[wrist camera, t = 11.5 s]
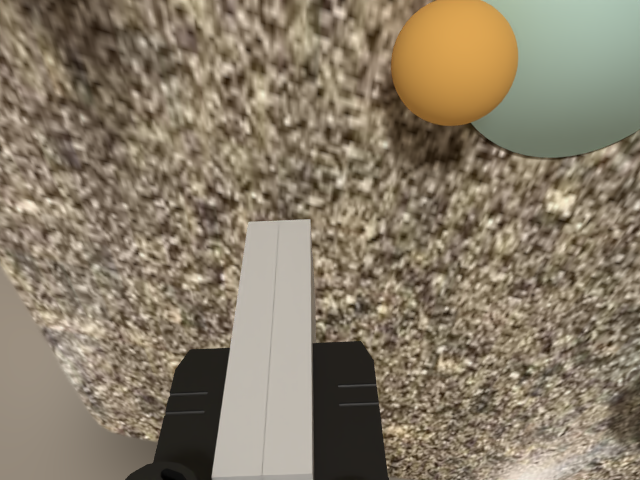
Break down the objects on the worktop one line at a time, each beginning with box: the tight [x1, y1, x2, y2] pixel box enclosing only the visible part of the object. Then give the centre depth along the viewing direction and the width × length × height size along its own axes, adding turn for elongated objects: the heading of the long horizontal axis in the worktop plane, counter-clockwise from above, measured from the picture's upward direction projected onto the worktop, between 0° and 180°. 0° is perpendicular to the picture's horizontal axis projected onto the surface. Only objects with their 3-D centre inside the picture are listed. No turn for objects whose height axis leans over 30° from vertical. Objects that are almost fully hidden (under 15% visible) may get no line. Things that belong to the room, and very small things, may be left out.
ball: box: [391, 0, 518, 126], centre depth 25 cm, size 6×6×6 cm
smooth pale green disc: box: [471, 0, 640, 158], centre depth 27 cm, size 13×13×1 cm
